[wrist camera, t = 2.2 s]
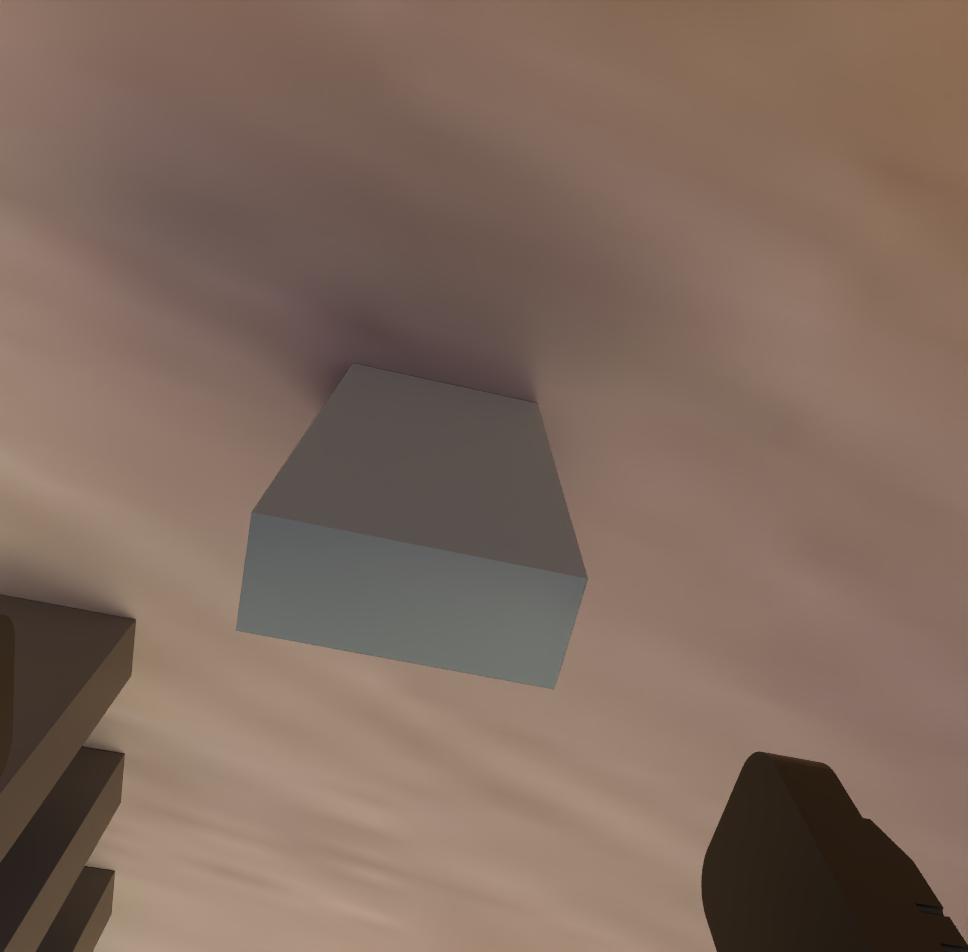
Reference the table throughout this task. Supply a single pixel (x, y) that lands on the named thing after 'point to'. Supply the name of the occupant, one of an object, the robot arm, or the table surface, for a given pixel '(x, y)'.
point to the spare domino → (419, 533)
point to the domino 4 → (82, 914)
